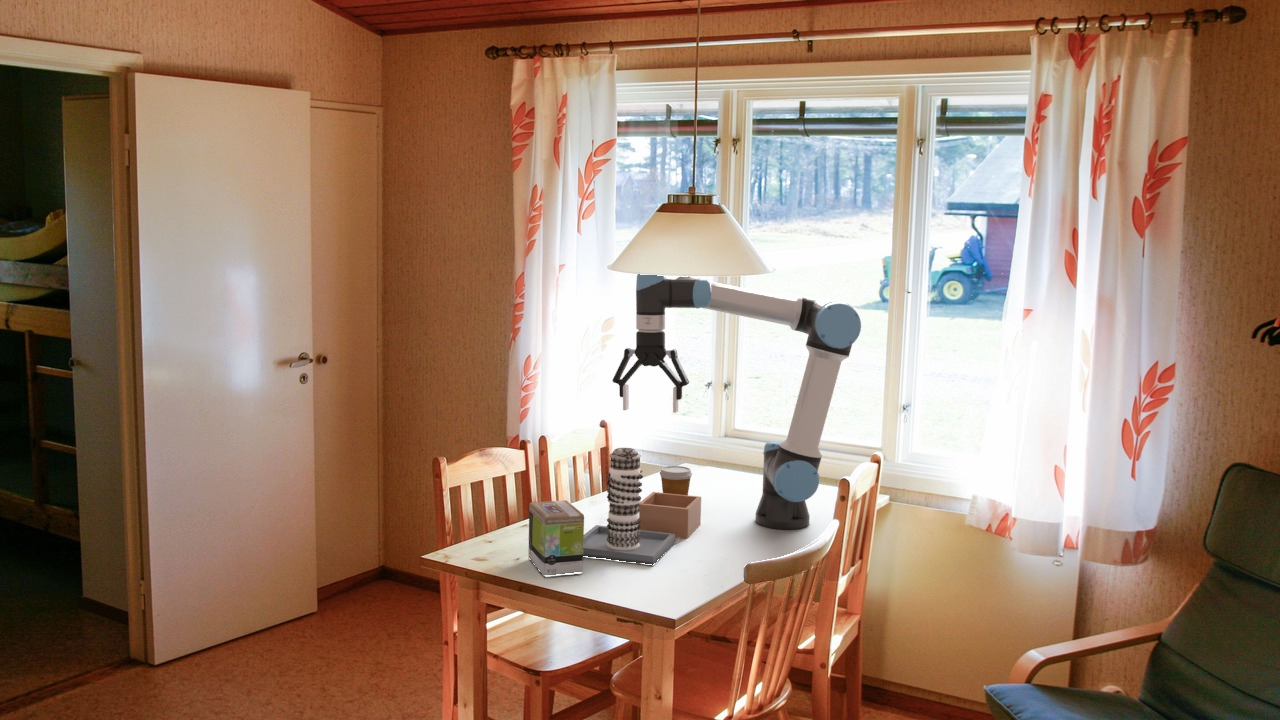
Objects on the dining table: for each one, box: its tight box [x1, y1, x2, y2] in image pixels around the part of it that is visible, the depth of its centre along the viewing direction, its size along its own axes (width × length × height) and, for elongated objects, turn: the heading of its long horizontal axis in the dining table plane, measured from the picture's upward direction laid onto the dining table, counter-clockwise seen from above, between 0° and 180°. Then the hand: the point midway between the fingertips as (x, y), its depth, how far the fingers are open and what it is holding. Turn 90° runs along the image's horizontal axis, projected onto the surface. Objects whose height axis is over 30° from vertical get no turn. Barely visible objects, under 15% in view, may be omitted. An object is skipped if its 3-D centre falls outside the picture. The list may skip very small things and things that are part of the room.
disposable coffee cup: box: [659, 465, 693, 495], centre depth 304 cm, size 10×10×12 cm
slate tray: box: [583, 524, 676, 565], centre depth 266 cm, size 22×20×2 cm
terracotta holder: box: [638, 491, 702, 539], centre depth 284 cm, size 14×14×8 cm
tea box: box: [528, 499, 585, 575], centre depth 250 cm, size 15×10×15 cm
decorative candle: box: [606, 447, 644, 551], centre depth 264 cm, size 9×9×25 cm
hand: (650, 410), depth 275 cm, fingers open, 13 cm apart
